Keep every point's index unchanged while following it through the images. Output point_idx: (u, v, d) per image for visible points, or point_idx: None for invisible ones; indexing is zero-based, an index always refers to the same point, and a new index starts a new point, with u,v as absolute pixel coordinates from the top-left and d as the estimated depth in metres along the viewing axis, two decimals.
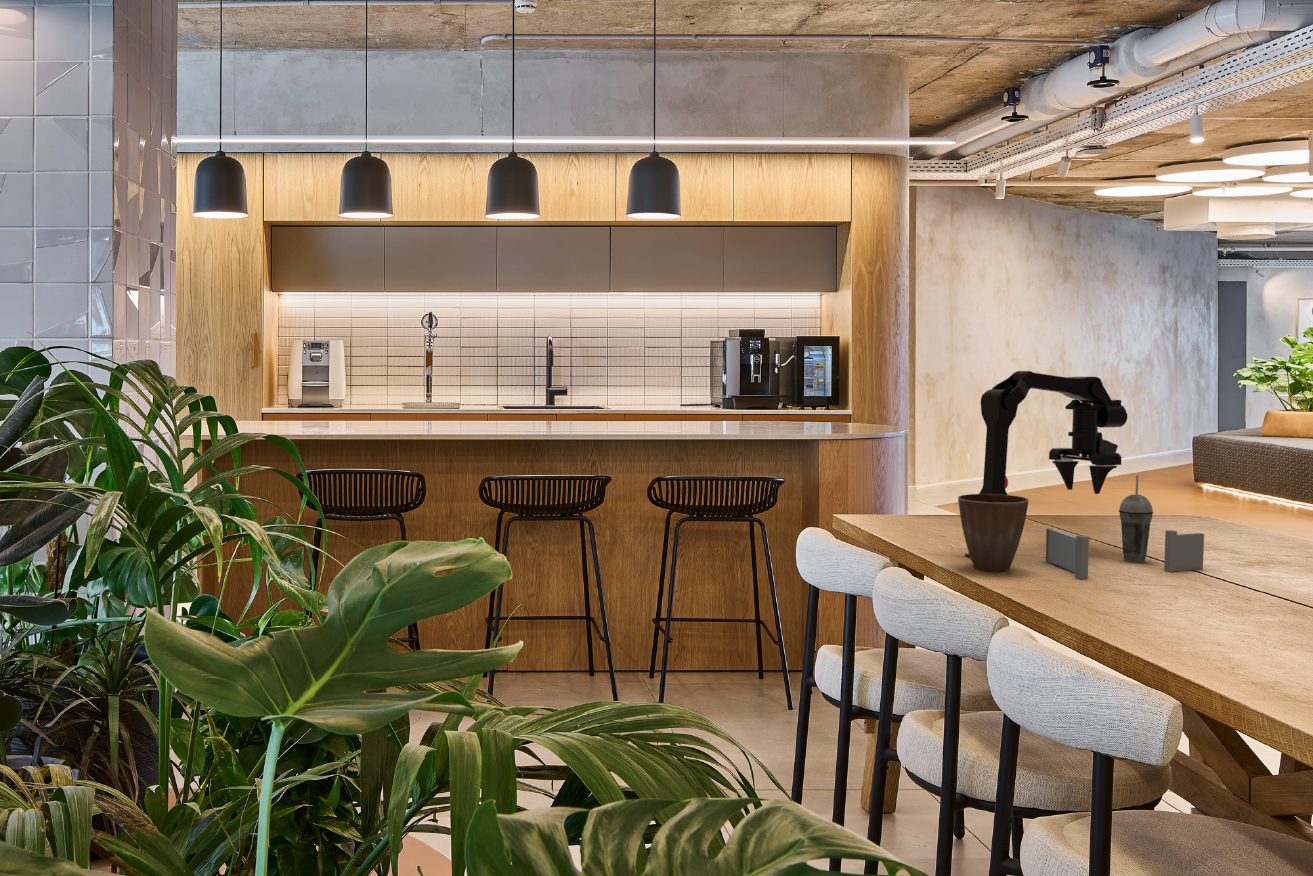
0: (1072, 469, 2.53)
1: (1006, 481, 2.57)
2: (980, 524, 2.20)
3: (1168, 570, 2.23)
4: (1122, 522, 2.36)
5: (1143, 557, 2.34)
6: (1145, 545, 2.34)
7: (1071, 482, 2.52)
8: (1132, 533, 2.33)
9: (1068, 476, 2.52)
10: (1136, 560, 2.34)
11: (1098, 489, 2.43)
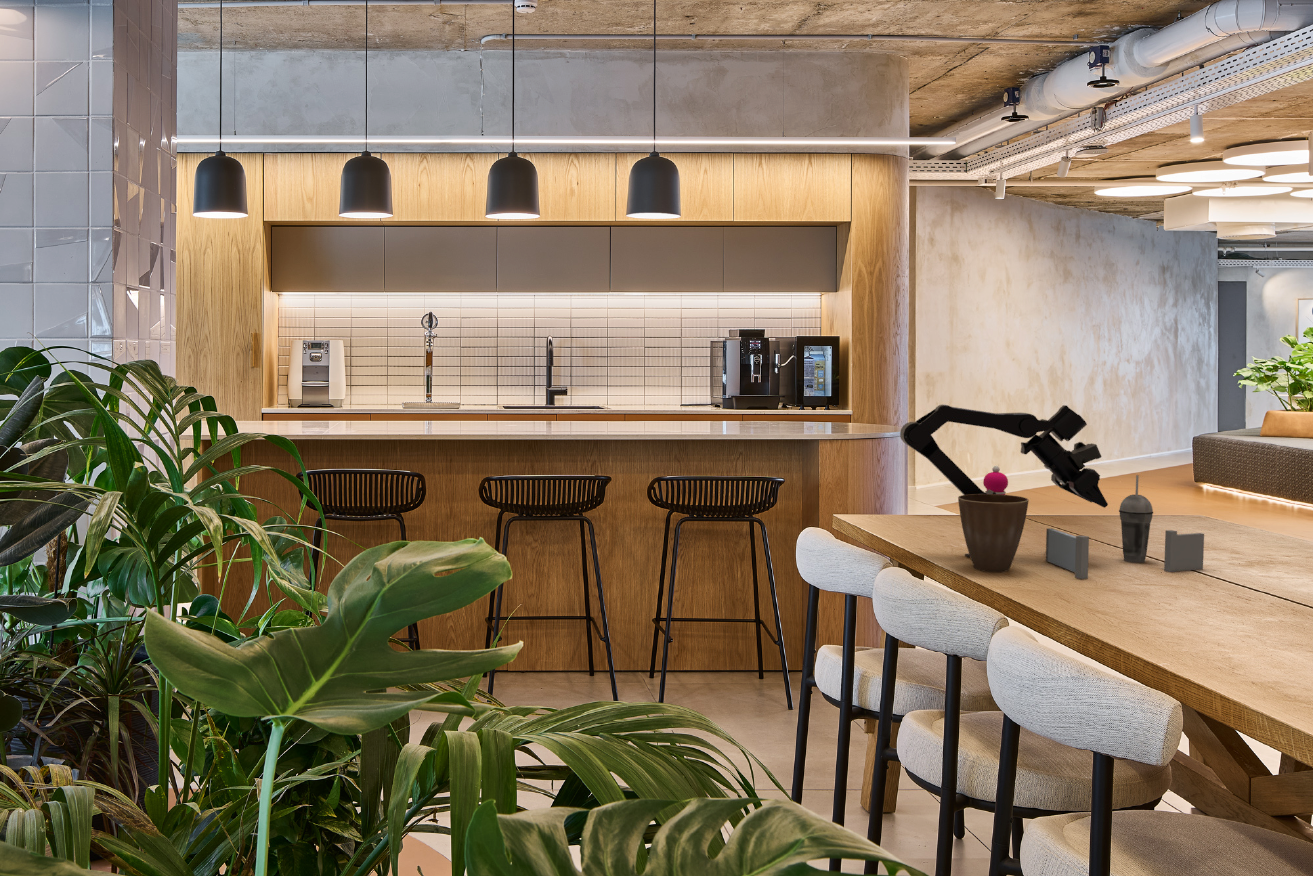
0: None
1: (1006, 481, 2.57)
2: (980, 524, 2.20)
3: (1168, 570, 2.23)
4: (1122, 522, 2.36)
5: (1143, 557, 2.34)
6: (1145, 545, 2.34)
7: None
8: (1132, 533, 2.33)
9: None
10: (1136, 560, 2.34)
11: (1104, 502, 2.31)
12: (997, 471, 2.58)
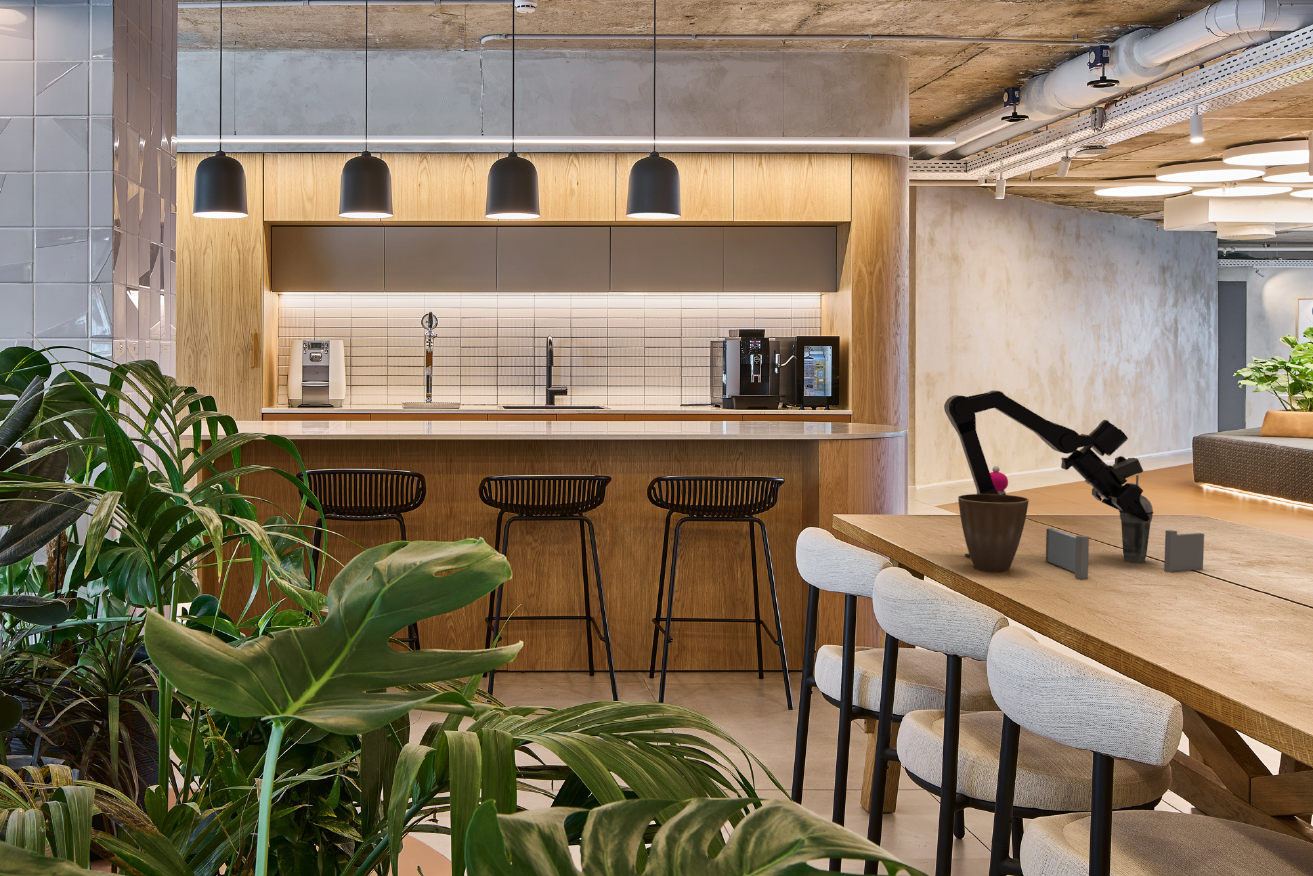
0: None
1: (1006, 481, 2.57)
2: (980, 524, 2.20)
3: (1168, 570, 2.23)
4: (1122, 522, 2.36)
5: (1143, 557, 2.34)
6: (1145, 545, 2.34)
7: None
8: (1132, 533, 2.33)
9: None
10: (1136, 560, 2.34)
11: (1145, 517, 2.31)
12: (997, 471, 2.58)
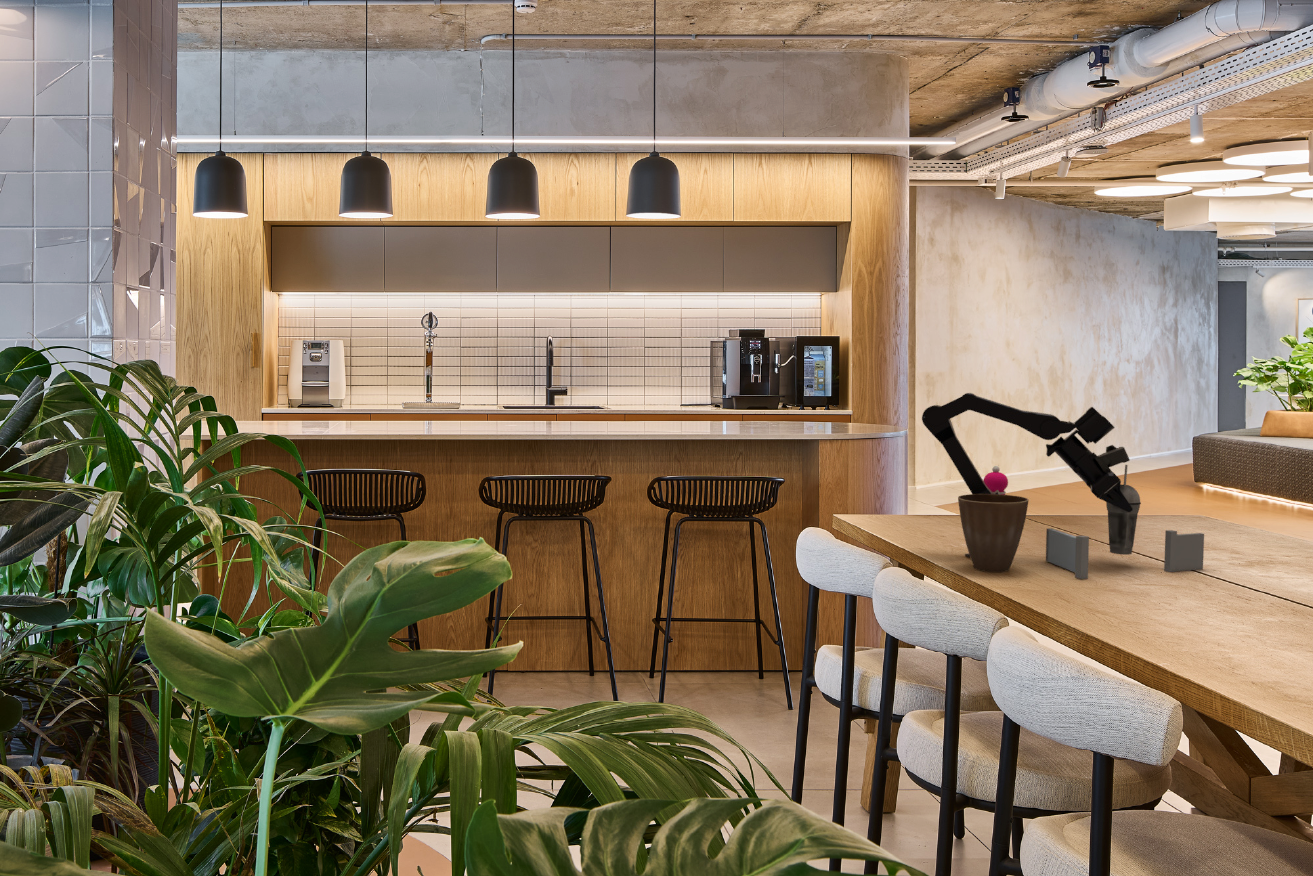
0: None
1: (1006, 481, 2.57)
2: (980, 524, 2.20)
3: (1168, 570, 2.23)
4: (1108, 512, 2.30)
5: (1128, 549, 2.28)
6: (1130, 536, 2.27)
7: None
8: (1115, 524, 2.28)
9: None
10: (1120, 551, 2.28)
11: (1128, 507, 2.25)
12: (997, 471, 2.58)
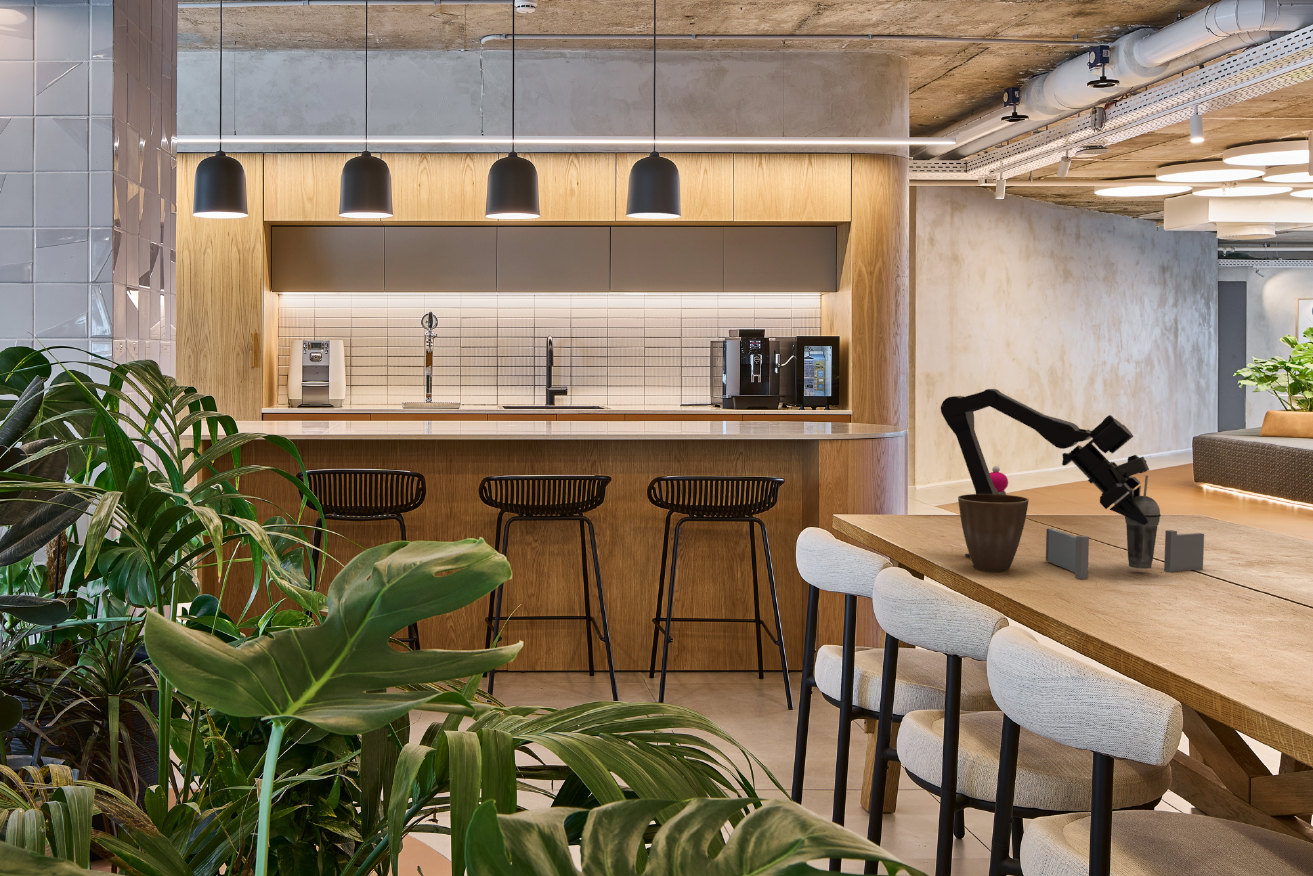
0: None
1: (1006, 481, 2.57)
2: (980, 524, 2.20)
3: (1168, 570, 2.23)
4: None
5: (1145, 563, 2.19)
6: (1147, 550, 2.19)
7: None
8: (1131, 537, 2.20)
9: None
10: (1137, 565, 2.20)
11: (1142, 519, 2.17)
12: (997, 471, 2.58)
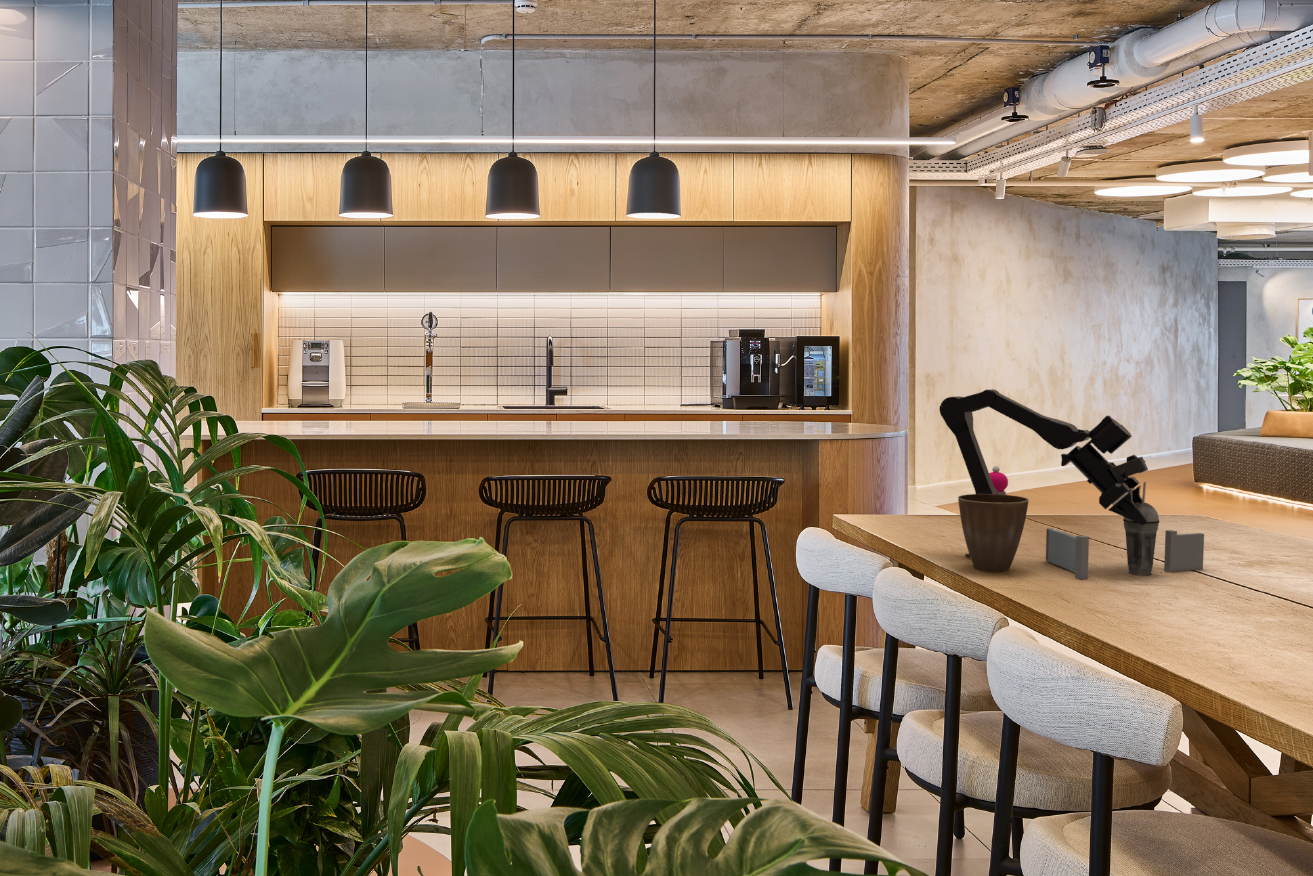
0: (1138, 499, 2.26)
1: (1006, 481, 2.57)
2: (980, 524, 2.20)
3: (1168, 570, 2.23)
4: None
5: (1145, 569, 2.19)
6: (1147, 557, 2.19)
7: None
8: (1131, 543, 2.20)
9: None
10: (1136, 572, 2.20)
11: (1141, 520, 2.16)
12: (997, 471, 2.58)
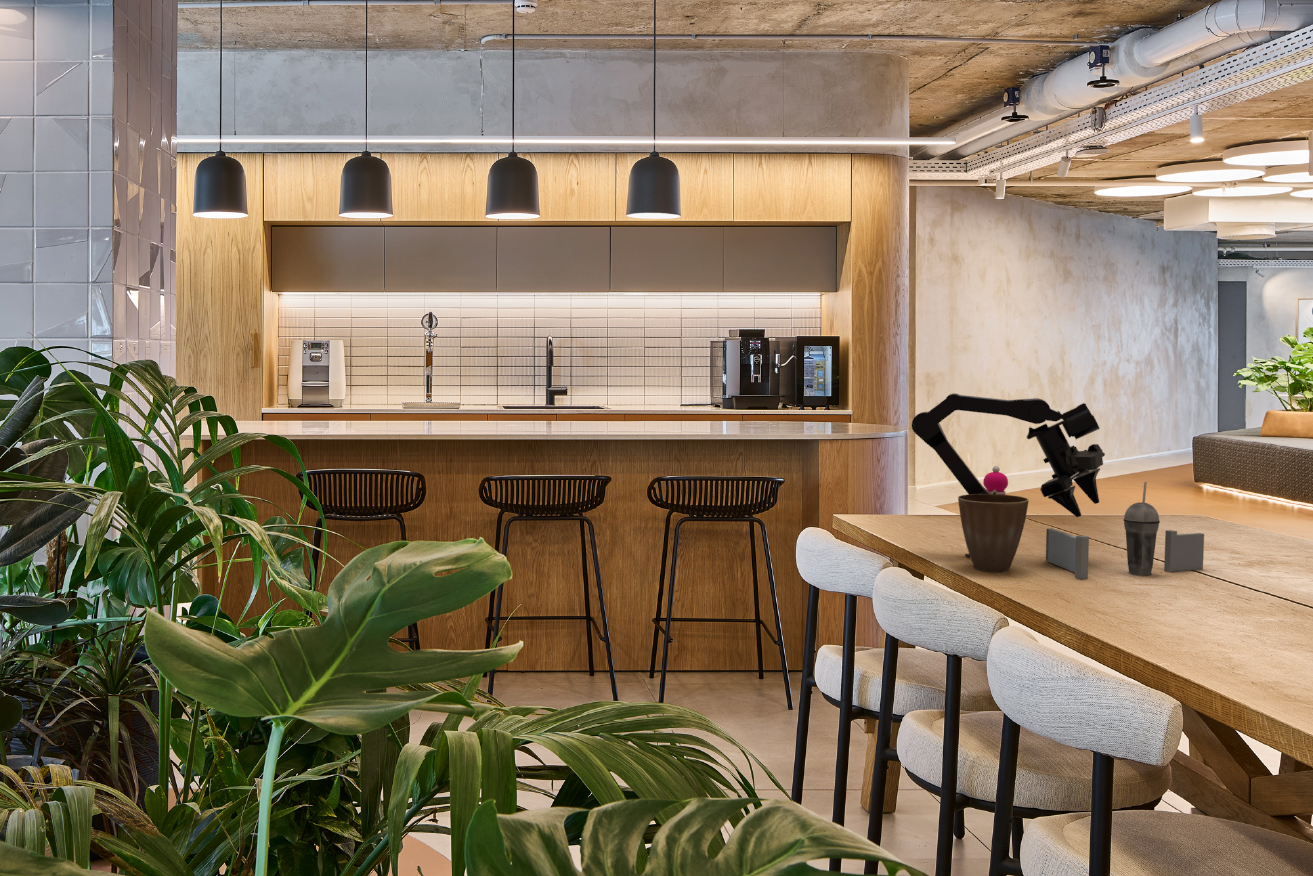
0: (1091, 482, 2.35)
1: (1006, 481, 2.57)
2: (980, 524, 2.20)
3: (1168, 570, 2.23)
4: None
5: (1145, 569, 2.19)
6: (1147, 557, 2.19)
7: (1094, 496, 2.35)
8: (1131, 543, 2.20)
9: (1088, 490, 2.36)
10: (1136, 572, 2.20)
11: (1076, 512, 2.29)
12: (997, 471, 2.58)
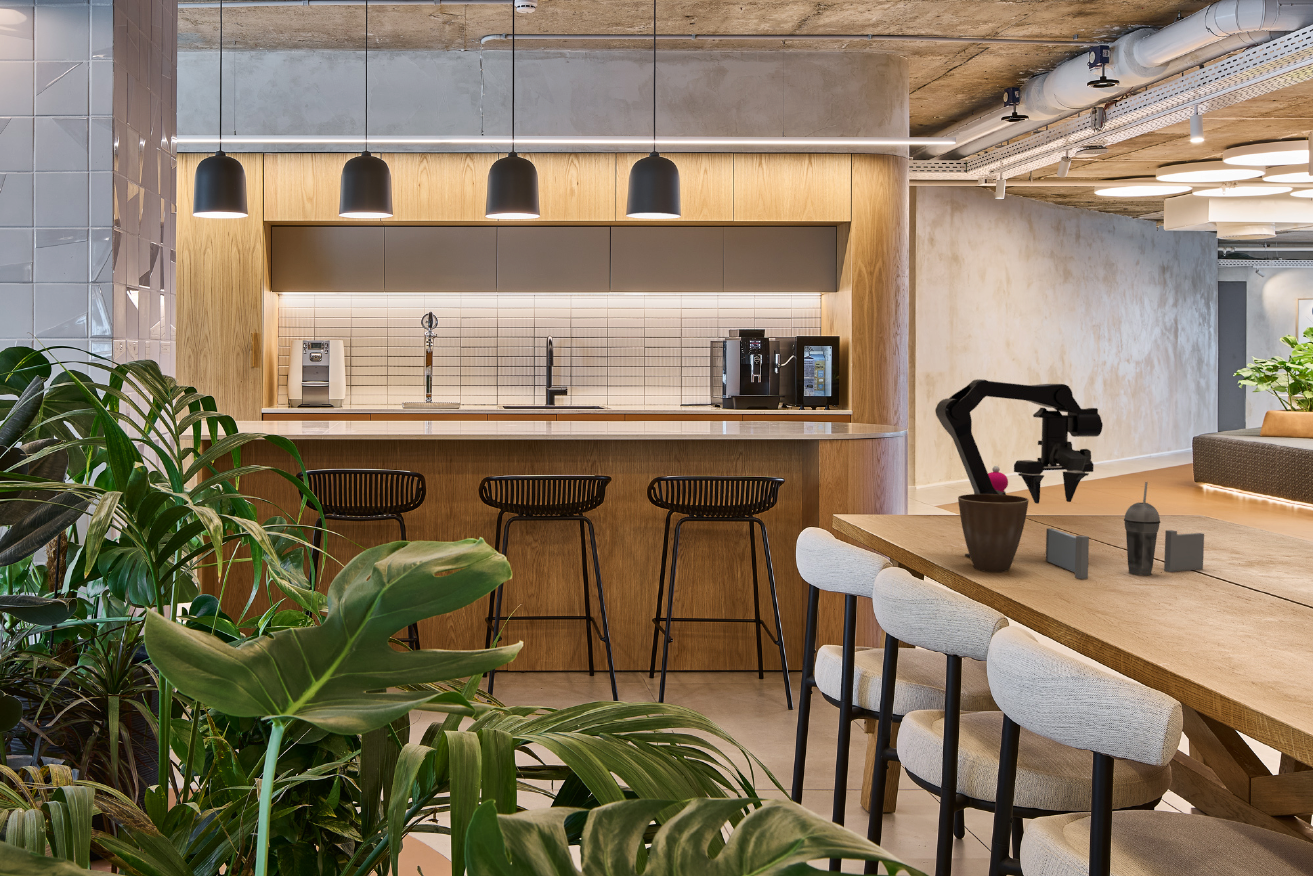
0: (1073, 481, 2.41)
1: (1006, 481, 2.57)
2: (980, 524, 2.20)
3: (1168, 570, 2.23)
4: (1126, 531, 2.22)
5: (1145, 569, 2.19)
6: (1147, 557, 2.19)
7: (1068, 494, 2.41)
8: (1131, 543, 2.20)
9: (1067, 487, 2.42)
10: (1137, 572, 2.20)
11: (1035, 499, 2.38)
12: (997, 471, 2.58)
